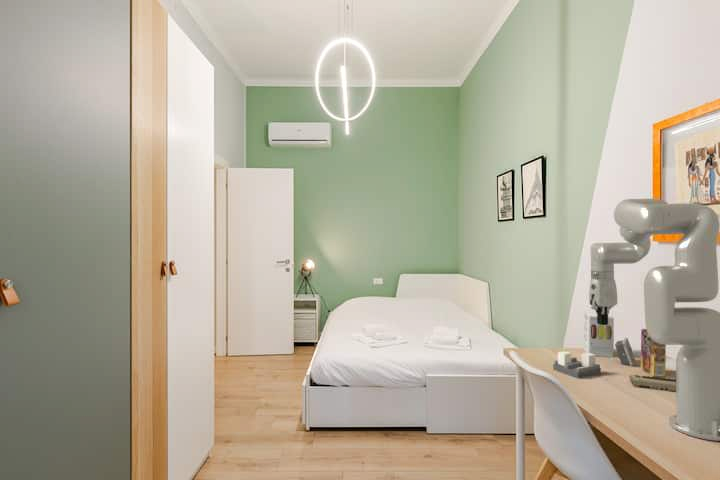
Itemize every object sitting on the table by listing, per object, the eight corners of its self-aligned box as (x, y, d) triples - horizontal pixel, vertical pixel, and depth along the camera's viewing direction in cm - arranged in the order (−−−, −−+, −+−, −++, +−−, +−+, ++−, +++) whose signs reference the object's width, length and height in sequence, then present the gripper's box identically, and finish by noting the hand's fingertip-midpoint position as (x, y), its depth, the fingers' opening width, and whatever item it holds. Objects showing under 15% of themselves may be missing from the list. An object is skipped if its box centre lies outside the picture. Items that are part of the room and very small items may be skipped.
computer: (685, 387, 136) (685, 377, 136) (692, 395, 129) (692, 385, 129) (629, 380, 143) (629, 370, 143) (633, 388, 135) (633, 378, 135)
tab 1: (571, 365, 151) (571, 353, 151) (564, 366, 150) (564, 354, 150) (564, 362, 154) (564, 351, 154) (557, 364, 153) (557, 352, 153)
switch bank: (600, 373, 149) (600, 364, 149) (577, 378, 144) (577, 368, 144) (575, 365, 158) (575, 356, 158) (553, 369, 154) (553, 360, 153)
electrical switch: (633, 367, 156) (630, 342, 156) (617, 365, 159) (614, 341, 159) (635, 361, 163) (632, 337, 163) (620, 360, 166) (617, 337, 167)
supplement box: (588, 355, 170) (588, 315, 170) (583, 350, 179) (583, 311, 179) (614, 357, 168) (614, 316, 168) (608, 351, 177) (607, 312, 176)
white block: (595, 366, 149) (595, 354, 149) (589, 367, 148) (588, 355, 148) (588, 364, 152) (588, 352, 152) (581, 365, 151) (581, 353, 151)
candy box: (666, 377, 144) (666, 334, 144) (653, 376, 145) (653, 334, 144) (653, 369, 153) (652, 328, 153) (640, 368, 153) (640, 328, 153)
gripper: (598, 277, 147) (598, 328, 147) (625, 275, 153) (625, 324, 153) (579, 275, 153) (579, 324, 154) (606, 274, 159) (606, 320, 160)
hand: (602, 324), depth 153 cm, fingers closed
